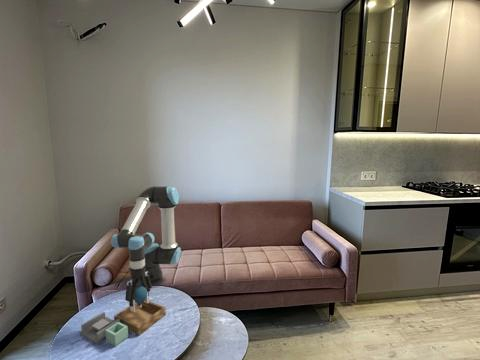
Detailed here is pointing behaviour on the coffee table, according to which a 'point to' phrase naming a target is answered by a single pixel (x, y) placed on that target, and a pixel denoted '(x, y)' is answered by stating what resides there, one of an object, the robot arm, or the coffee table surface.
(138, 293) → the light bulb
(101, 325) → the checker plate
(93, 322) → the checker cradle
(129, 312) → the tray
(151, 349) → the coffee table surface
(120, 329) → the cup
